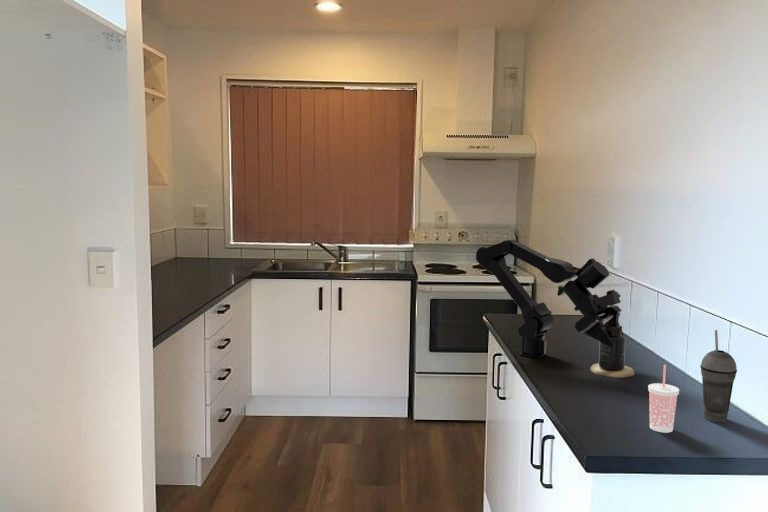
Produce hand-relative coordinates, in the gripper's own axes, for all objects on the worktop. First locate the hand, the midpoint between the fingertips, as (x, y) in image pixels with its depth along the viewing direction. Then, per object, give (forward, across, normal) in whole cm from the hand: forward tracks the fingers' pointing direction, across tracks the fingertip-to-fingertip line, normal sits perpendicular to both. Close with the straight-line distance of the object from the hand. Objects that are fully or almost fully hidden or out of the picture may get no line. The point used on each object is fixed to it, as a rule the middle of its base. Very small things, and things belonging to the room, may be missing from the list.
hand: (618, 343), depth 175 cm
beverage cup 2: (+27, -19, -16) cm, 37 cm away
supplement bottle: (+4, 0, +6) cm, 8 cm away
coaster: (+5, 0, +7) cm, 8 cm away
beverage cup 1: (+22, -33, -11) cm, 41 cm away
